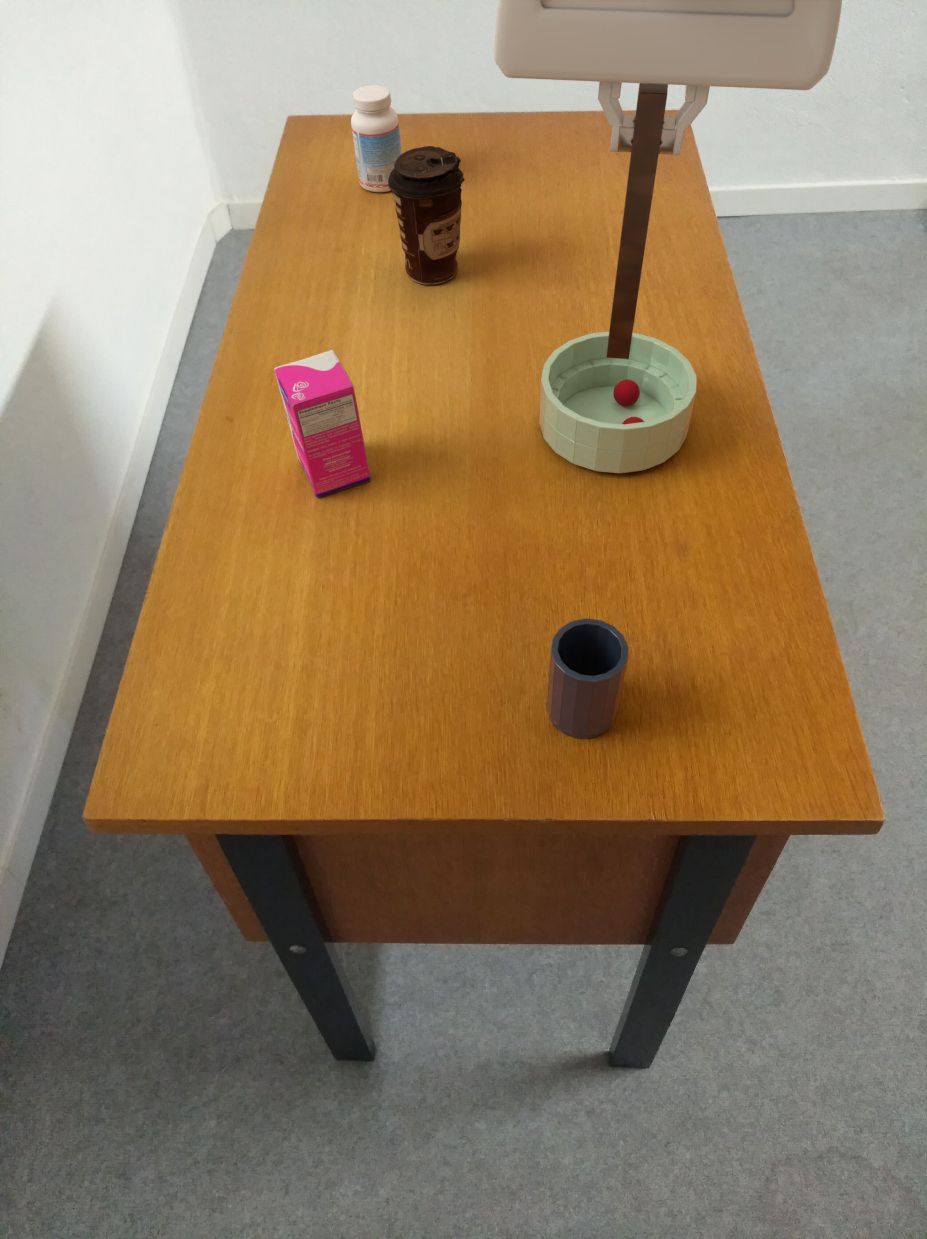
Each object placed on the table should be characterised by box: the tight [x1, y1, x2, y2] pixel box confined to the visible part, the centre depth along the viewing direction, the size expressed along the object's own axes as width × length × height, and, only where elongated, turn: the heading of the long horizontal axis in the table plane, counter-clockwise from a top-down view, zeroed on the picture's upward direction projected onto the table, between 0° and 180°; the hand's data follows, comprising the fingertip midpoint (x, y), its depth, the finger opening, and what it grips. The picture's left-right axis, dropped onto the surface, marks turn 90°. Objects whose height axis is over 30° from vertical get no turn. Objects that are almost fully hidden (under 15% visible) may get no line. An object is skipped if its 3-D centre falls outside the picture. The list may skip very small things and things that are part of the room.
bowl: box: [538, 330, 698, 474], centre depth 86 cm, size 14×14×6 cm
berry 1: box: [613, 380, 640, 406], centre depth 89 cm, size 3×3×3 cm
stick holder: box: [546, 617, 630, 740], centre depth 66 cm, size 5×5×8 cm
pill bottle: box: [350, 84, 403, 193], centre depth 115 cm, size 6×6×11 cm
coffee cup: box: [388, 145, 466, 285], centre depth 101 cm, size 9×8×13 cm
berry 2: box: [622, 417, 644, 424], centre depth 85 cm, size 3×3×3 cm
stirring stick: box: [606, 83, 669, 359], centre depth 65 cm, size 2×2×20 cm
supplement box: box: [273, 349, 372, 499], centre depth 82 cm, size 6×6×12 cm
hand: (645, 149), depth 60 cm, fingers closed on stirring stick, 2 cm apart
